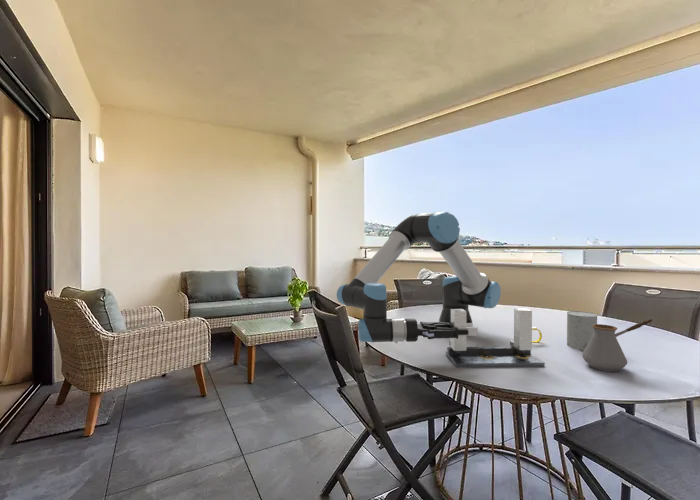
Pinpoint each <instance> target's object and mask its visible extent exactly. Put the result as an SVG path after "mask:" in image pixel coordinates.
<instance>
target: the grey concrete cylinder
mask: <svg viewBox="0 0 700 500" xmlns="http://www.w3.org/2000/svg"><path fill="white" fill-rule="evenodd" d="M566 315H567V316H566V346H567V347H569V348H571V349H576V350H581V351H584V350H585V348H586V347H587V345H588V343H589V341H590V339H591V338H592V336H593V334H594V332H595V331H594V328H593V327H592V325H594V324H598V314H597V313H593V312H589V311H582V310H581V311H579V310H578V311H577V310H575V311H574V310H571V311H570V310H569V311H567V312H566Z"/></svg>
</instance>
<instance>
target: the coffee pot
mask: <svg viewBox="0 0 700 500" xmlns="http://www.w3.org/2000/svg"><path fill="white" fill-rule="evenodd" d="M652 322H654V324H653V323H652ZM648 324H650V325H652V326H656V325H657V323H656V321H655V320H653V319H651V318H650V319H647V320H644V321H643V322H639V323H636V324H634V325H632V326H630V327H628V328H626V329H624V330H621V331H619V332H616V331H617V330H618V327H616V326H613V325H608V324H598V323H597V324H594V325H592V327H593V328H594V331H595V332H594V334H593V336H592V338H591V339H590V341H589V343H588V345H587V347H586V348H585V350H583V351H582V358H583V360H584V362H585V363H586V364H588V366H590V367H591V368H593V369H595V370H599V371H604V372H610V371H612V372H613V373H614V371H615V372H619V371H620V370H621V369H624V368H625V367H626V366H627V365H628V359H627V357H626V356H625V353H624V351H623V350H622V347H621V345H620V343H619V341H618V339H617V337H619V336H622V335H624V334H626V333H629V332H631V331H634V330H636V329H640V328H642V327H644V326H647V325H648ZM612 372H611V373H612Z"/></svg>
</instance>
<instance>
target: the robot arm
mask: <svg viewBox="0 0 700 500" xmlns="http://www.w3.org/2000/svg"><path fill="white" fill-rule="evenodd" d="M459 226H460V223H459V220H458V219H457V218H456V216H455V215H454V214H453V213H451V212H448V211H435V212H425V213H424V212H423V213H414V214H411V215H410V216H408V217H406V218H405V219H404V220H402V221H401V222H400V223H398V224H397V225H396V226H395V228H393V229H392V231H391V232H390V233H389V238H388V239H387V240H386V241H385V243H383V245H382V246H381V247H380V248H379V249H378V250H377V252H376V253H375V254H374V255H373V256H372V257H371V258H370V260H369V261H368V262H367V263H366V264H365V266H364V267H363V268H361V270H360V271H359V272H358V273H357V274H356V276H355V277H354V278H353V279H352V280H351V281H350V282H349V283H346V284H342V285H340V286H339V287H338V289H337V291H336V299H337V300H338V303H340V304H341V305H345V306H347V307H352V308H357V309H360V310H363V315H364V316H363V318H360V319H359V320H358V340H359V341H360V342H365V343H388V342H389V343H392V342H393V343H395V344H398V343H399V342H401V343H403V342H404V341H405V342H408V343H411V342H412V343H413V342H417V341H418V339H419V337H422V338H427V339H428V340H433V339H451V338H456V339H458V336H466V337H467V336H469V337H472V336H473V337H477V336H479V335H478V333H479V330H478V329H479V327H478V326H473V325H474V324H473V319H472V316H471V313H470V310H469V306H471V307H477V308H478V307H479V308H483V309H494V308H495V307H497V305H498V304H499V302H500V298H501V293H502V290H501V285H500V284H499V282H497V281H494V280H493V281H492V280H490V279H489V277H488V276H487V275H486V274H485V273H483V272H480V270H479V269H478V267H477V266H476V264H475V263H474V262H473V260H472V259H471V257H470V255H468V252H467V251H466V250H465V249H464V246H463V245H462V243H460V240H459V239H460V238H459V237H460V231H461V229H460V227H459ZM417 243H422V244H423V243H426V244H428V246H429V247H430V248H431V250H433V251H434V252H437V253H439V254H440V255H441V256H442V258H443V259H444V260H445V262H446V263H447V265H448V266H449V267H450V269H451V270H452V271H453V273H454V275H455V276H448V277H447V276H446V277H444V278H443V280H442V285H441V287H442V310H441V312H440V315H439V318H438V321H420V322H419V323H418V321H417V319H416V318H387V315H388V314H387V311H388V307H387V306H388V302H387V301H388V295H387V286H386V284H385V283H382V282H379V281H380V279H381V278H382V277H383V276H384V275H385V274H386V272H387V271H388V270H389V269H390V268H391V266H392V265H394V264H395V262H396V260H397V259H398V258H399V257H400V256H401V254H403V252H404V251H406V250H409V249H410V248H411V247H412V246H413V245H415V244H417ZM451 309H463V310H465V311H466V327H457V328H451Z"/></svg>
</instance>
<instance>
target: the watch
mask: <svg viewBox="0 0 700 500" xmlns="http://www.w3.org/2000/svg"><path fill="white" fill-rule="evenodd" d="M536 330H537V332H539V333H538V334H539V336H538V339H536V340H532V344H534V343H537V344H538V343H540V342H541V341H542V338H543V334H542V332H541V330H540V329H538V327H537V326H532V331H536Z"/></svg>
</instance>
